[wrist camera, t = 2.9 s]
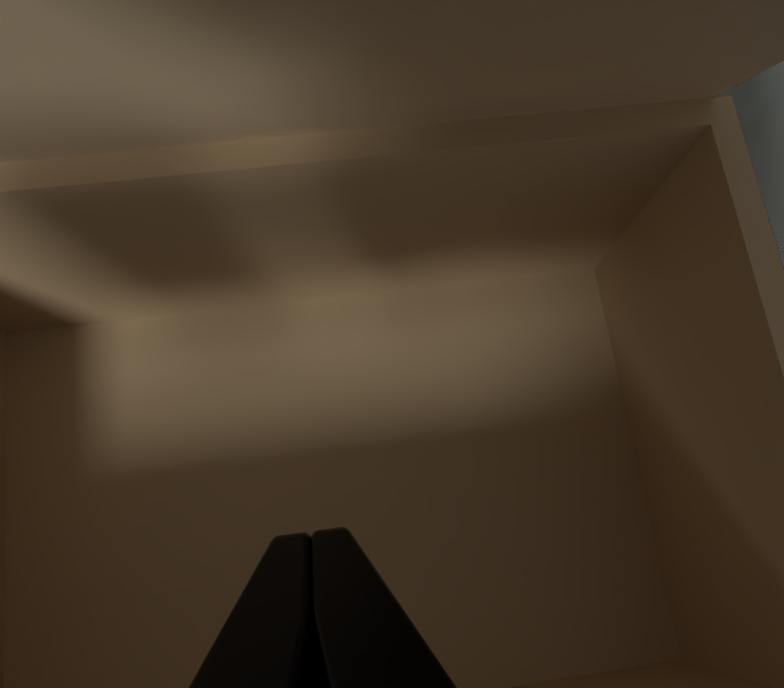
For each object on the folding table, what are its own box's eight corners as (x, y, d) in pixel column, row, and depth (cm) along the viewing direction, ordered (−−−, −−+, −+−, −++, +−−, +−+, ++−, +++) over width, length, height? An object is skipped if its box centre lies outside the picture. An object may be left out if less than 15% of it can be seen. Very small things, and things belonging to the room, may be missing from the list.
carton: (701, 678, 19) (931, 756, 12) (-15, 792, 18) (-298, 967, 10) (603, 254, 22) (731, 95, 15) (-7, 320, 21) (-216, 182, 13)
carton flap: (1508, -319, 5) (1507, -385, 5) (-1686, -161, 3) (-1715, -252, 3) (713, 97, 15) (711, 76, 15) (-192, 180, 13) (-196, 158, 13)
